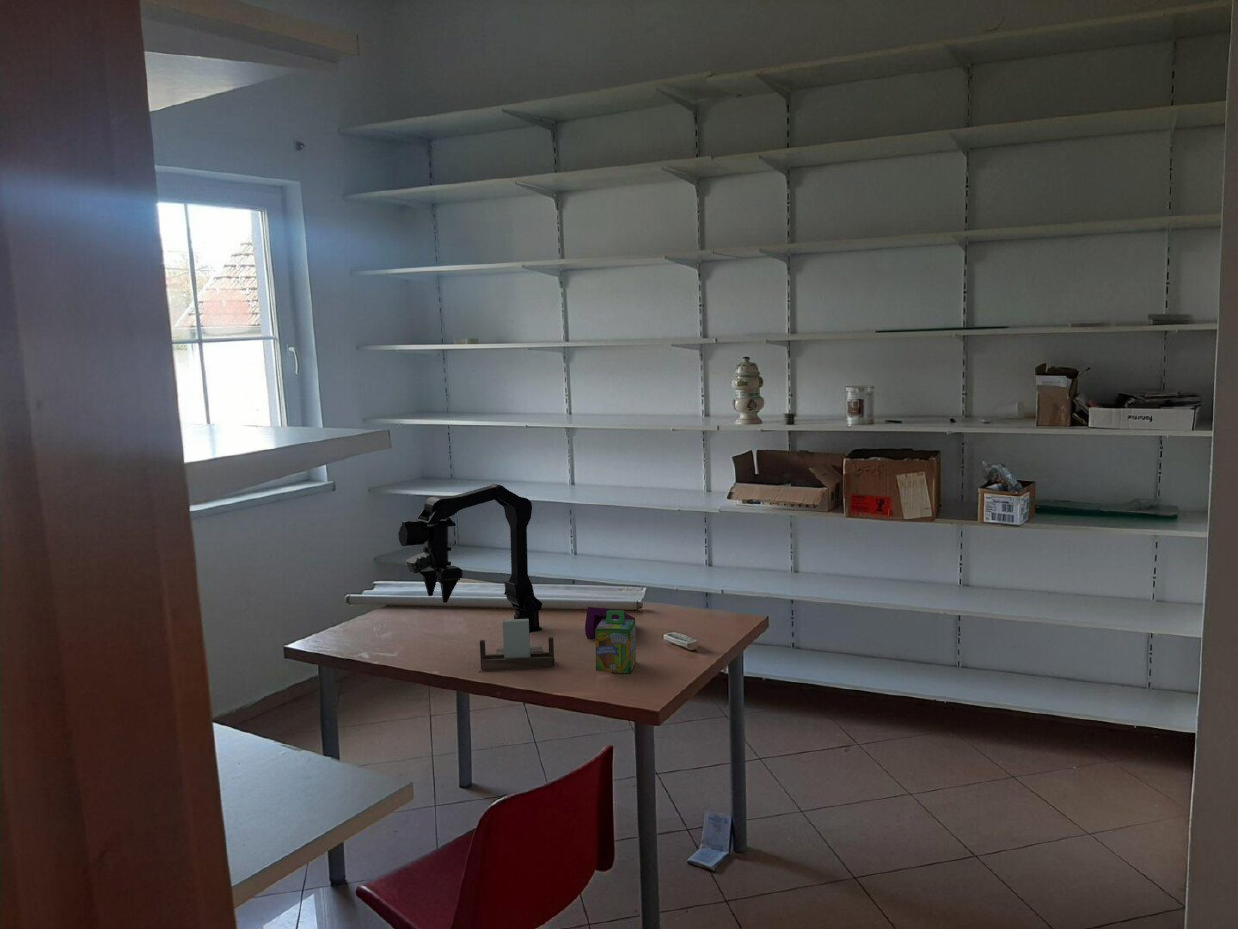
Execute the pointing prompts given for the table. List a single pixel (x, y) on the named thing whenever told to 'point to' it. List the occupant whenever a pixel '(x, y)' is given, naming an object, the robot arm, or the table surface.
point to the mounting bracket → (598, 619)
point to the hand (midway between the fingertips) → (437, 599)
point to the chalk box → (615, 643)
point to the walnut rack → (517, 660)
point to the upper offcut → (532, 649)
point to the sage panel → (516, 638)
